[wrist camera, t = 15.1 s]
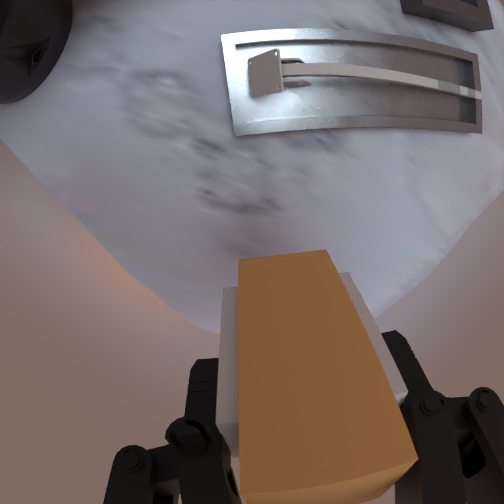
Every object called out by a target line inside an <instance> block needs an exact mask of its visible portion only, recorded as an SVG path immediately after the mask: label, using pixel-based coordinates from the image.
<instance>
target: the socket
mask: <svg viewBox="0 0 504 504" xmlns="http://www.w3.org/2000/svg"><path fill="white" fill-rule="evenodd" d="M400 1H401V6H402V11H403V13H406V14H411V15H416V16H420V17H424V18H428V19H432V20H436V21H439V22H443V23H446V24H449V25H453V26H456V27H459V28H462V29H465V30H468V31H471V32H476V31H483V30H491V29H494V27H493V22H492V18H491V14H490V10H489V6H488V2H487V0H400Z"/></svg>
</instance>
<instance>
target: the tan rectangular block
mask: <svg viewBox="0 0 504 504" xmlns="http://www.w3.org/2000/svg"><path fill="white" fill-rule="evenodd" d="M238 380H239V460H240V495H241V496H242V497H243V499H244V500H245V501H246V503H247V504H358V503H362V502H366V501H370V500H373V499H376V498H379V497H380V496H382V495H383V494H384V493H385V492H386V491H387V490H388V489H389V488H390V487H391V486H392V485H393V484H394V483H396V482H397V481H398V480H399V479H400V478H401V477H402V476H403V475H404V474H405V473H406V472H407V470H408V469H409V468H410V467H411V466H412V465H413V464H414V463H415V462H416V461H417V460H418V456H417V453H416V451H415V448H414V445H413V442H412V439H411V437H410V434H409V431H408V429H407V426H406V424H405V421H404V418H403V416H402V413H401V411H400V408H399V406H398V403H397V401H396V398H395V396H394V393H393V391H392V388H391V386H390V384H389V381H388V379H387V377H386V374H385V372H384V370H383V367H382V365H381V363H380V360H379V358H378V356H377V354H376V351H375V349H374V347H373V345H372V342H371V340H370V338H369V336H368V334H367V331H366V329H365V327H364V325H363V323H362V321H361V319H360V317H359V314H358V312H357V310H356V308H355V306H354V304H353V302H352V300H351V298H350V296H349V294H348V292H347V290H346V288H345V286H344V284H343V282H342V280H341V278H340V276H339V274H338V272H337V270H336V268H335V266H334V264H333V262H332V260H331V258H330V256H329V254H328V252H327V251H326V250H319V251H311V252H303V253H295V254H287V255H279V256H271V257H263V258H254V259H246V260H238Z"/></svg>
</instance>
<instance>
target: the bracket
mask: <svg viewBox="0 0 504 504" xmlns="http://www.w3.org/2000/svg"><path fill="white" fill-rule="evenodd" d="M276 52H277V55H276ZM250 62H251V64H250ZM247 66H248V75H249V85H250V93H251V96H260V95H267V94H274V93H281V92H283V89H284V87H303V86H311V84H310V83H308V82H306V81H304V80H302V79H286V80H283V77H307V76H311V77H341V78H355V79H367V80H376V81H385V82H392V83H399V84H406V85H412V86H418V87H423V88H429V89H434V90H438V91H443V92H448V93H452V94H456V95H460V96H464V97H468V98H474V99H480V100H483V93H482V92H480V91H476V90H473V89H470V88H467V87H463V86H460V85H456V84H454V83H450V82H445V81H440V80H436V79H432V78H427V77H423V76H418V75H414V74H409V73H404V72H398V71H393V70H387V69H380V68H373V67H366V66H358V65H348V64H338V63H305V62H304V61H302V60H301V59H300V58H281V56H280V50H279V49H278V48H274V49H272V50H269V51H266V52H264V53H261V54H259V55H256V56H254V57H251V58H249V59H248V61H247ZM299 83H302V84H299ZM279 87H280V89H279ZM253 91H254V93H253Z"/></svg>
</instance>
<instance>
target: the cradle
mask: <svg viewBox="0 0 504 504" xmlns="http://www.w3.org/2000/svg"><path fill="white" fill-rule="evenodd" d="M221 38H222V45H223V53H224V60H225V67H226V75H227V82H228V89H229V96H230V104H231V111H232V118H233V126H234V133H235V136H243V135H251V134H259V133H269V132H279V131H291V130H304V129H320V128H345V127H400V128H424V129H439V130H451V131H462V132H471V133H479V134H482V100H480V99H474V98H468V97H464V96H460V95H456V94H452V93H448V92H443V91H438V90H434V89H429V88H423V87H418V86H412V85H406V84H399V83H392V82H385V81H376V80H367V79H355V78H341V77H311V76H307V77H283V80H286V79H302V80H304V81H306V82H308V83H310V84H311V86H303V87H284V89H283V92H281V93H274V94H267V95H260V96H251V93H250V85H249V75H248V66H247V61H248V59H249V58H251V57H254V56H256V55H259V54H261V53H264V52H266V51H269V50H272V49H274V48H278V49H279V50H280V56H281V58H300V59H301V60H302V61H304V62H305V63H338V64H348V65H358V66H366V67H373V68H380V69H387V70H393V71H398V72H404V73H409V74H414V75H418V76H423V77H427V78H432V79H436V80H440V81H445V82H450V83H454V84H456V85H460V86H463V87H467V88H470V89H473V90H476V91H480V92H481V84H480V73H479V64H478V56H477V54H474V53H471V52H468V51H464V50H461V49H457V48H454V47H450V46H446V45H442V44H438V43H434V42H429V41H425V40H420V39H415V38H409V37H404V36H398V35H391V34H384V33H376V32H367V31H356V30H341V29H275V30H261V31H249V32H240V33H232V34H224V35H221ZM276 55H277V52H276ZM250 64H251V62H250ZM299 84H302V83H299ZM279 89H280V87H279ZM253 93H254V91H253Z"/></svg>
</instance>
